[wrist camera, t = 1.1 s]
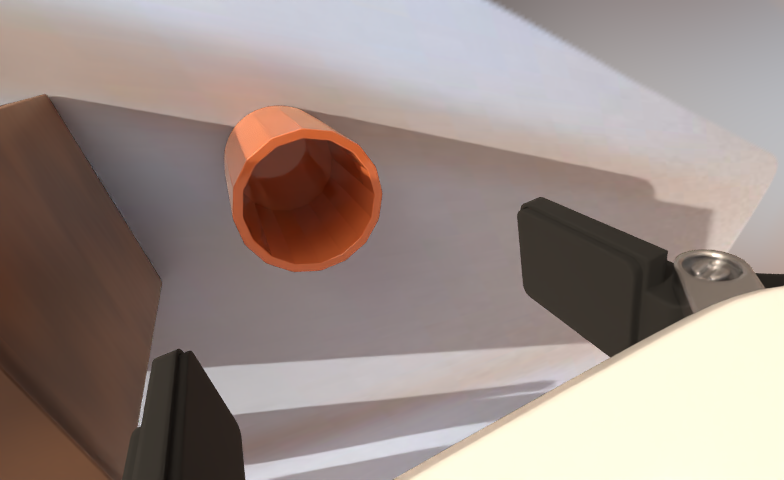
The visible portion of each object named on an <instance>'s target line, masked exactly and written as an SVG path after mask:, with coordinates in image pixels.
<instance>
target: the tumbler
mask: <svg viewBox="0 0 784 480" xmlns="http://www.w3.org/2000/svg"><path fill="white" fill-rule="evenodd" d="M224 165H225V177H226V183H227V188H228V194H229V200H230V205H231V211H232V217H233V220H234V223H235V225H236V227H237V229H238V231H239V233H240V235H241V238H242V240H243V242H244V244H245V245H246V246H247V247H248V248H249V249H250V250H251V251H253V252H254V253H255V254H256V255H257V256H258V257H260V258H261V259H262V260H263V261H264V262H265V263H267V264H270V265H273V266H276V267H279V268H282V269H286V270H289V271H292V272H302V271H320V270H323V269H326V268H328V267H331V266H333V265H335V264H338V263H340V262H343V261H345V260H347V259H348V258H349V257H350V256H351V255H352V254H353V253H355V252H356V251H357V250H358V249H359V248H360V247H361V246H362V245H364V244H365V243H366V241H367V240H368V238H369V236H370V234H371V232H372V231H373V229H374V227H375V225H376V223H377V221H378V219H379V214H380V207H381V200H382V189H381V185H380V181H379V177H378V173H377V169H376V167H375V165H374V164H373V163H372V161H371V160H370V159H369V157H368V156H367V155H366V153H365V152H364V151H363V150H362V148H361V147H360V146H359V145H358V144H356V143H355V142H353V141H352V140H350V139H349V138H347V137H345V136H344V135H342V134H341V133H339V132H338V131H336V130H334V129H333V128H331V127H330V126H328V125H326V124H325V123H323V122H322V121H320V120H319V119H317V118H315V117H313V116H311V115H310V114H308V113H306V112H304V111H302V110H301V109H298V108H294V107H289V106H278V105H277V106H268V107H264V108H261V109H258V110H256V111H254V112H252V113H250V114H248V115H247V116H246V117H244V118H243V119H242V120H241V121H240V122H239V123H238V124H237V125H236V126H235V128H234V129H233V130H232V132H231V134H230V136H229V138H228V140H227V143H226V147H225V152H224Z"/></svg>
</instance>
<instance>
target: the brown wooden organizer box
mask: <svg viewBox="0 0 784 480" xmlns="http://www.w3.org/2000/svg"><path fill="white" fill-rule="evenodd" d="M161 286H162V281H161V279H160V278H159V276H158V274H157V273H156V271H155V269H154V268H153V266H152V265H151V263H150V261H149V260H148V258H147V256H146V255H145V253H144V252H143V250H142V248H141V247H140V245H139V244H138V242H137V240H136V239H135V237H134V235H133V234H132V232H131V231H130V229H129V227H128V226H127V224H126V222H125V221H124V219H123V218H122V216H121V214H120V213H119V211H118V209H117V208H116V206H115V205H114V203H113V201H112V200H111V198H110V196H109V195H108V193H107V192H106V190H105V188H104V187H103V185H102V183H101V182H100V180H99V179H98V177H97V175H96V174H95V172H94V171H93V169H92V167H91V166H90V164H89V162H88V161H87V159H86V158H85V156H84V154H83V153H82V151H81V149H80V148H79V146H78V145H77V143H76V141H75V140H74V138H73V136H72V135H71V133H70V132H69V130H68V128H67V127H66V125H65V123H64V122H63V120H62V119H61V117H60V115H59V114H58V112H57V110H56V109H55V107H54V106H53V104H52V102H51V101H50V99H49V98H48V96H47V95H45V94H43V95H40V96H36V97H32V98H28V99H24V100H20V101H17V102H13V103H9V104H5V105H1V106H0V480H122V477H123V472H124V467H125V462H126V457H127V452H128V447H129V442H130V438H131V435H132V432H133V431H134V430H135V429H136V428H137V426H138V421H139V415H140V409H141V403H142V397H143V391H144V385H145V379H146V374H147V368H148V362H149V356H150V350H151V344H152V338H153V332H154V327H155V321H156V315H157V309H158V303H159V297H160V291H161Z"/></svg>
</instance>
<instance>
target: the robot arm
mask: <svg viewBox="0 0 784 480" xmlns="http://www.w3.org/2000/svg"><path fill="white" fill-rule="evenodd" d="M517 219H518V231H519V242H520V254H521V265H522V277H523V286H524V289H525V291H526V293H527V294H528V295H529V296H530V297H531V298H532V299H534V300H535V301H536V302H538V303H539V304H540V305H542V306H543V307H544V308H546V309H547V310H548V311H550V312H551V313H552V314H553V315H555V316H556V317H557V318H559V319H560V320H561V321H563V322H564V323H565V324H567V325H568V326H569V327H571V328H572V329H573V330H575V331H576V332H577V333H579V334H580V335H581V336H583V337H584V338H585V339H587V340H588V341H589V342H591V343H592V344H593V345H595V346H596V347H597V348H599V349H600V350H601V351H603V352H604V353H605V354H607V355H608V356H609V357H611V358H609V359H607V360H605V361H604V362H602V363H600V364H598V365H596V366H594V367H593V368H591V369H589V370H587V371H585V372H584V373H582V374H580V375H578V376H576V377H575V378H573V379H571V380H569V381H567V382H565V383H564V384H562V385H560V386H558V387H556V388H555V389H553V390H551V391H549V392H547V393H546V394H544V395H542V396H540V397H539V398H537V399H535V400H533V401H531V402H530V403H528V404H526V405H524V406H522V407H521V408H519V409H517V410H515V411H513V412H512V413H510V414H508V415H506V416H504V417H503V418H501V419H499V420H497V421H496V422H494V423H492V424H490V425H488V426H487V427H485V428H483V429H481V430H480V431H478V432H476V433H474V434H472V435H471V436H469V437H467V438H465V439H463V440H462V441H460V442H458V443H456V444H455V445H453V446H451V447H449V448H447V449H446V450H444V451H442V452H440V453H439V454H437V455H435V456H433V457H432V458H430V459H428V460H426V461H425V462H423V463H421V464H419V465H417V466H416V467H414V468H412V469H410V470H409V471H407V472H405V473H403V474H402V475H400V476H398V477H396V478H395V479H393V480H784V274H759V273H755V272H754V271H753V270H752V268H751V267H750V265H749V264H748V263H746V262H745V261H744V260H743V259H741V258H739V257H737V256H735V255H732V254H729V253H726V252H721V251H716V250H692V251H688V252H685V253H682V254H680V255H679V256H677V257H676V259H675V261H674V263H672V262H670V261H667V254H668V251H667V250H665V249H662V248H660V247H658V246H655V245H653V244H651V243H648V242H646V241H644V240H641V239H639V238H637V237H634V236H632V235H630V234H627V233H625V232H623V231H620V230H618V229H616V228H613V227H611V226H609V225H606V224H604V223H602V222H599V221H597V220H595V219H592V218H590V217H588V216H585V215H583V214H581V213H578V212H576V211H574V210H571V209H569V208H567V207H564V206H562V205H560V204H557V203H555V202H553V201H550V200H548V199H545V198H543V197H539V198H536V199H534V200H532V201H529V202H527V203H525V204H523V205H522V206H521V209H520V211H519V212H518V214H517ZM122 480H245V472H244V461H243V450H242V439H241V433H240V429H239V426H238V424H237V422H236V420H235V419H234V417H233V416H232V414H231V412H230V411H229V409H228V408H227V406H226V404H225V403H224V401H223V400H222V398H221V396H220V395H219V393H218V392H217V390H216V388H215V387H214V385H213V384H212V382H211V380H210V379H209V377H208V376H207V374H206V372H205V371H204V369H203V368H202V366H201V364H200V363H199V361H198V360H197V358H196V356H195V355H194V353H193V352H192V351H188V352H185V353H184V352H183V351H182V350H181V349H177V350H175V351H172V352H170V353H167V354H165V355H163V356H160V357H158V358H156V359H154V360H153V362H152V368H151V373H150V379H149V385H148V390H147V396H146V402H145V407H144V413H143V419H142V424H141V426H140V427H138V428H136V429H135V430H134V431H133V432H132V435H131V438H130V442H129V447H128V452H127V457H126V462H125V467H124V472H123V477H122Z"/></svg>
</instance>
